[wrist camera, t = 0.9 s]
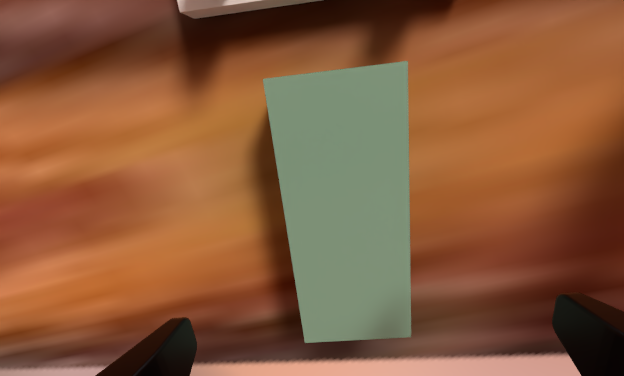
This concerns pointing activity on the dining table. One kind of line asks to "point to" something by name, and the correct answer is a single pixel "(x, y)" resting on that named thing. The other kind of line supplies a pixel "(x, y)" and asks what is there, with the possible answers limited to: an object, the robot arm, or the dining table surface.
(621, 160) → the dining table surface
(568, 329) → the robot arm
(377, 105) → the green board
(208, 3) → the plate
